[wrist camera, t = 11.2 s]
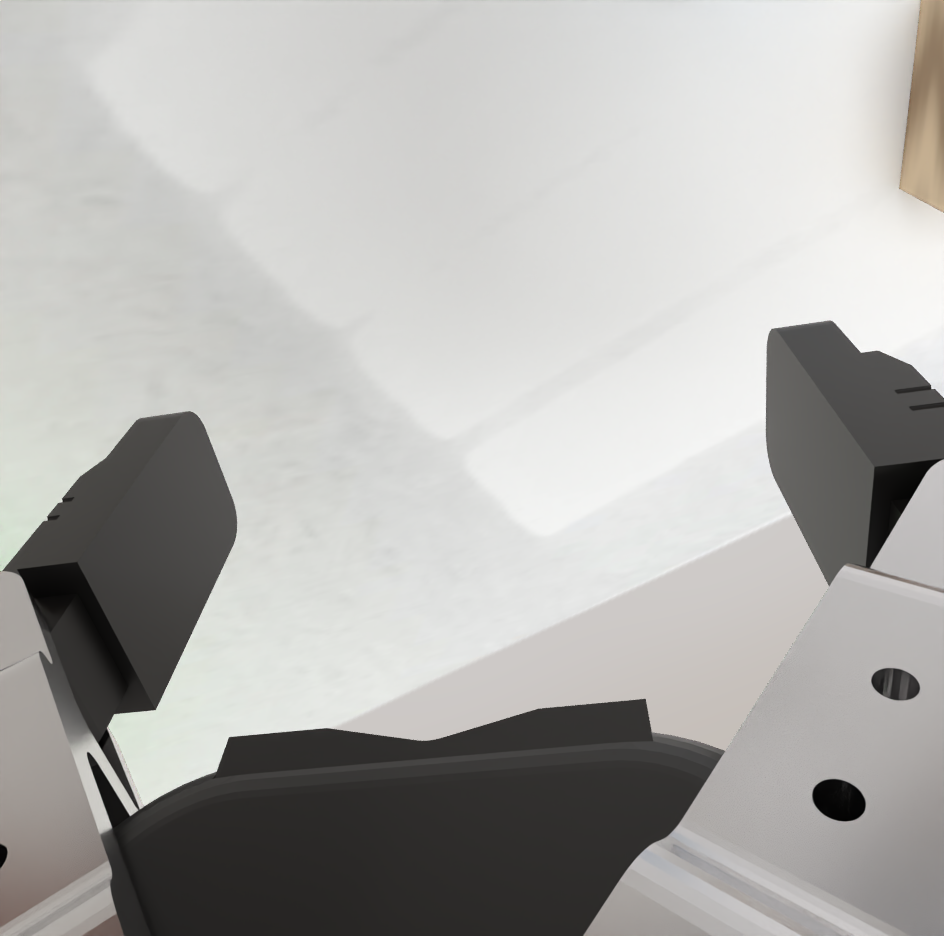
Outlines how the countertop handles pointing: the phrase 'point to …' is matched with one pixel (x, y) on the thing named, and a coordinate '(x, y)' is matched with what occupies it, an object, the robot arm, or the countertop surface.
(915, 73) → the oak base block
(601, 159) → the countertop surface
